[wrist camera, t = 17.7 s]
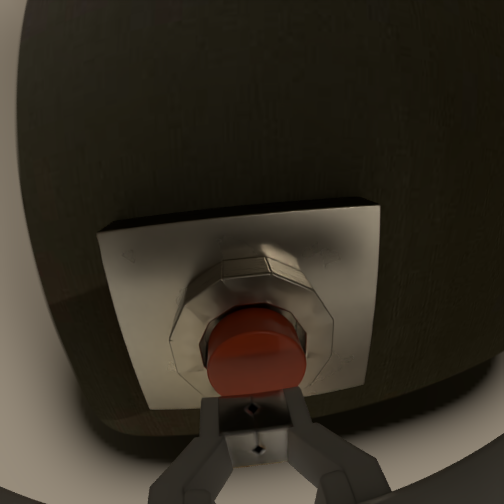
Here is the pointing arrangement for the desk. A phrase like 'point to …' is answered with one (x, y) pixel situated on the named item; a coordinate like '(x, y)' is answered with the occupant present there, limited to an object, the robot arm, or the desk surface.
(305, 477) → the robot arm
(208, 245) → the switch block
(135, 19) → the desk surface
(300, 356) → the button
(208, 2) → the desk surface
